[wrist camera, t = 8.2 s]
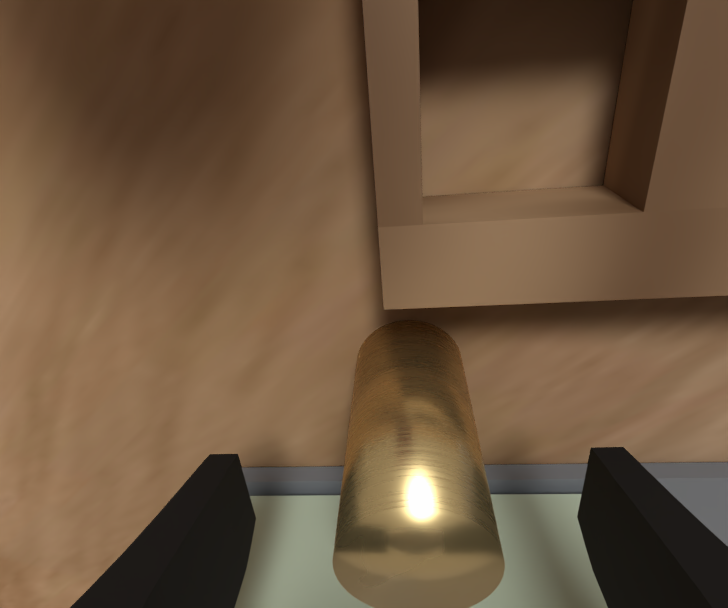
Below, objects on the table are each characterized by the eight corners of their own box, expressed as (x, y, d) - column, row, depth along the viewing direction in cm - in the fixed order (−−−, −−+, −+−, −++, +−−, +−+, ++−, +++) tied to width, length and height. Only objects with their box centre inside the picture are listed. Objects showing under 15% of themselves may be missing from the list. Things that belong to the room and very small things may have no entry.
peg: (463, 318, 13) (510, 510, 7) (461, 404, 14) (499, 617, 9) (352, 322, 13) (322, 511, 8) (361, 407, 14) (341, 615, 9)
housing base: (809, 461, 14) (910, 562, 11) (725, 625, 19) (784, 728, 16) (221, 467, 16) (184, 557, 13) (268, 616, 20) (247, 708, 17)
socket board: (1133, -240, 7) (1369, -331, 5) (896, 246, 11) (991, 284, 9) (358, -140, 8) (348, -190, 7) (385, 271, 12) (383, 309, 10)
